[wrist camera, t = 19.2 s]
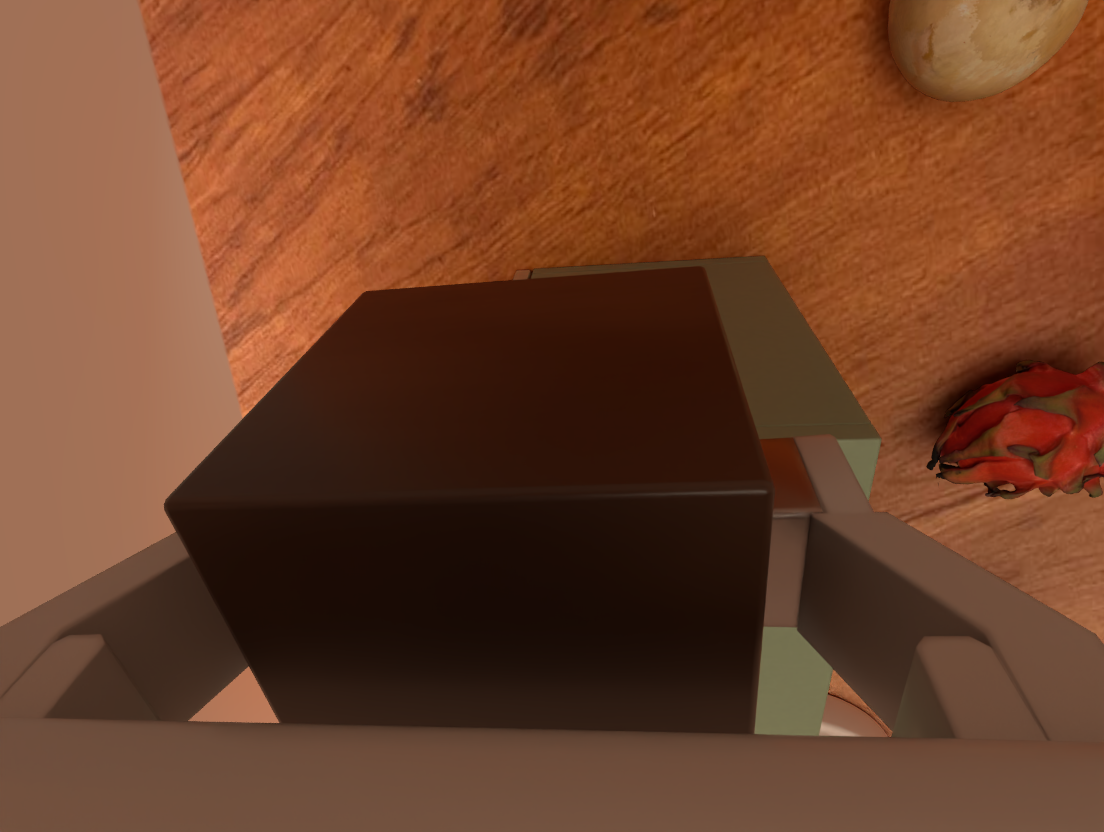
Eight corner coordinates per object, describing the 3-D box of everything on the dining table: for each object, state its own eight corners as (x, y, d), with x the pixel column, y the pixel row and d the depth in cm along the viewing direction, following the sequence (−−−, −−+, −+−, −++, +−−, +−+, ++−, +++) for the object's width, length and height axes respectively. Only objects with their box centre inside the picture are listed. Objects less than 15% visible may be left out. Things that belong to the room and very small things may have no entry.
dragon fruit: (1107, 367, 42) (904, 412, 47) (1145, 309, 35) (902, 370, 40) (1166, 493, 39) (940, 528, 44) (1221, 457, 32) (945, 504, 36)
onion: (1057, 44, 32) (1159, 49, 26) (890, 124, 34) (948, 145, 28) (1033, -141, 29) (1144, -185, 22) (849, -37, 31) (905, -52, 25)
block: (431, 540, 12) (328, 820, 8) (362, 289, 10) (155, 503, 5) (702, 536, 11) (747, 840, 7) (705, 263, 9) (778, 486, 5)
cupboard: (562, 554, 52) (537, 810, 35) (533, 268, 40) (472, 448, 23) (739, 554, 51) (801, 821, 34) (765, 255, 39) (882, 438, 22)
